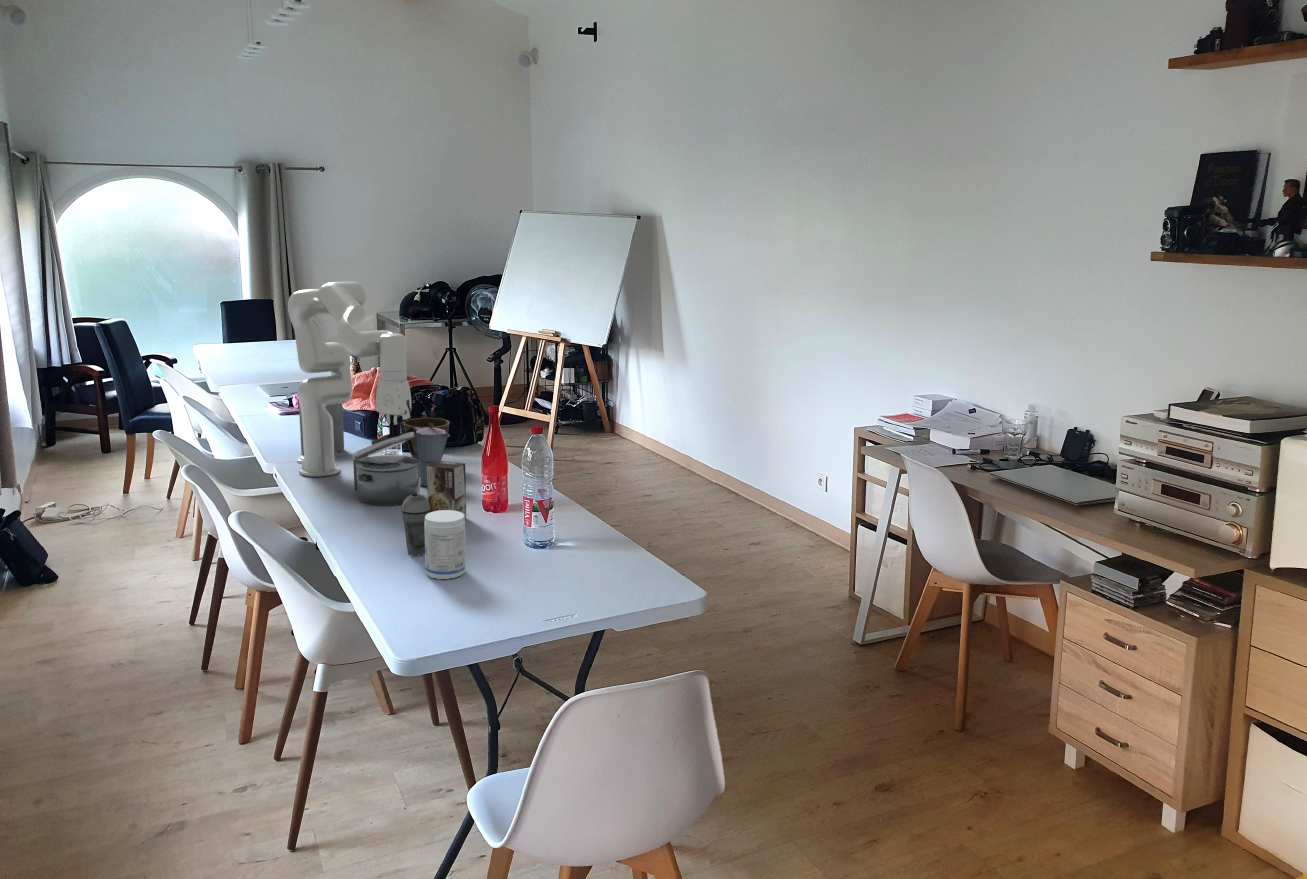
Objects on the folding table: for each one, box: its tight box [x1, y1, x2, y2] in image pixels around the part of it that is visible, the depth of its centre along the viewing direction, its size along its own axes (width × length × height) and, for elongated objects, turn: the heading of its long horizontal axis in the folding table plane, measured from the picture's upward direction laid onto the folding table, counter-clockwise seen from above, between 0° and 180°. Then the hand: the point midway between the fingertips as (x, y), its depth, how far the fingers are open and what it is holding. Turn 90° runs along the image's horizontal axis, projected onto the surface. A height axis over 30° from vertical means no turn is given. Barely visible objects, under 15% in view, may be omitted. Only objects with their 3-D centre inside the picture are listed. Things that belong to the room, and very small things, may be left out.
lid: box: [352, 432, 415, 459], centre depth 288 cm, size 20×19×3 cm
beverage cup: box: [400, 477, 431, 557], centre depth 242 cm, size 7×7×20 cm
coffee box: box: [427, 460, 467, 519], centre depth 270 cm, size 9×6×16 cm
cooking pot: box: [352, 454, 419, 507], centre depth 290 cm, size 20×22×11 cm
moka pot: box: [406, 423, 450, 487], centre depth 305 cm, size 10×15×20 cm, turn 78°
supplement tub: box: [424, 510, 466, 580], centre depth 229 cm, size 10×10×15 cm
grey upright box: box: [298, 403, 345, 455], centre depth 342 cm, size 15×6×20 cm, turn 125°
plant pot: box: [403, 417, 450, 461], centre depth 324 cm, size 15×15×16 cm
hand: (395, 436), depth 285 cm, fingers closed
